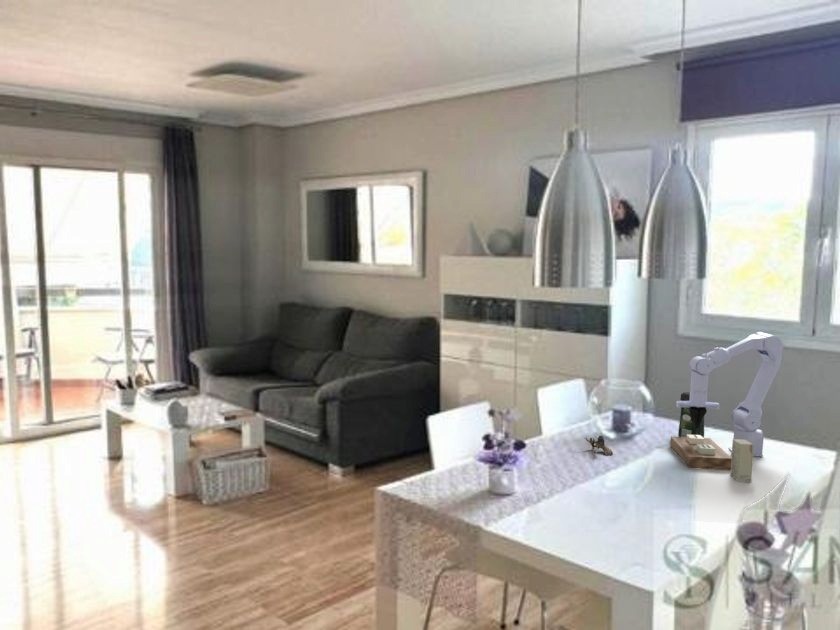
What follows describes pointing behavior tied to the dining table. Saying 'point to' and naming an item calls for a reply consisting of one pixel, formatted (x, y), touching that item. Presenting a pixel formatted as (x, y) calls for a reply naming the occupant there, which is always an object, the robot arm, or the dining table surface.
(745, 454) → the skincare box
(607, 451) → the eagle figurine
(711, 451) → the sage button
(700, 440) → the cream button
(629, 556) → the dining table surface
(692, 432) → the coffee jar
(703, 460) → the board
